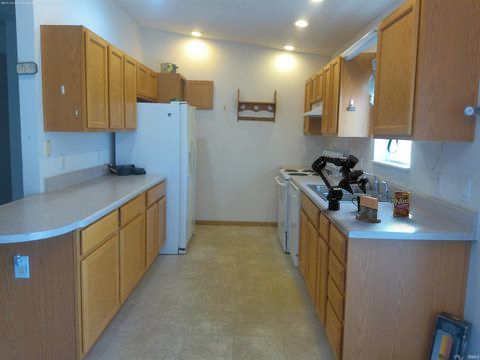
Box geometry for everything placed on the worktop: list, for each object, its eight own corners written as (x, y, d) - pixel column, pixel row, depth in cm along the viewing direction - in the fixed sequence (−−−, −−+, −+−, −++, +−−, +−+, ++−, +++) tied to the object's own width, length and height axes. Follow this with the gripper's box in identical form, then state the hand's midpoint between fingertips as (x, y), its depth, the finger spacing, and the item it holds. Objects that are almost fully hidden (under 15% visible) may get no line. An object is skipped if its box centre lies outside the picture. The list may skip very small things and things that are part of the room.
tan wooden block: (359, 205, 225) (360, 195, 225) (363, 204, 226) (363, 195, 226) (374, 208, 214) (374, 199, 214) (377, 208, 215) (378, 198, 215)
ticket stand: (355, 218, 226) (356, 205, 225) (364, 217, 229) (365, 204, 228) (370, 223, 214) (371, 209, 213) (380, 222, 217) (381, 209, 216)
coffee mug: (369, 210, 251) (370, 194, 249) (370, 212, 242) (371, 197, 241) (351, 208, 254) (351, 193, 253) (351, 211, 246) (352, 195, 244)
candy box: (392, 216, 233) (394, 191, 232) (393, 214, 237) (395, 190, 235) (408, 217, 229) (410, 192, 227) (409, 216, 233) (411, 191, 231)
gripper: (341, 165, 227) (353, 186, 218) (367, 164, 234) (379, 184, 225) (333, 177, 235) (344, 197, 226) (357, 176, 242) (369, 196, 233)
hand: (359, 193), depth 227 cm, fingers open, 9 cm apart
